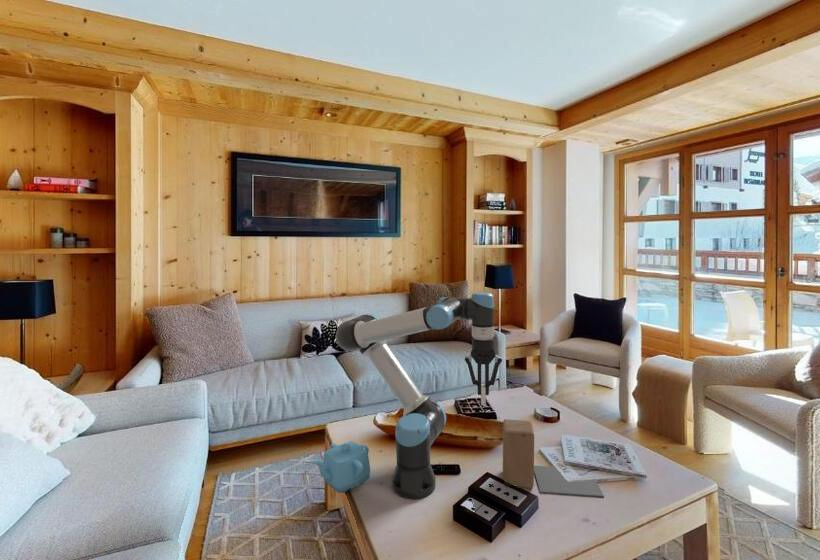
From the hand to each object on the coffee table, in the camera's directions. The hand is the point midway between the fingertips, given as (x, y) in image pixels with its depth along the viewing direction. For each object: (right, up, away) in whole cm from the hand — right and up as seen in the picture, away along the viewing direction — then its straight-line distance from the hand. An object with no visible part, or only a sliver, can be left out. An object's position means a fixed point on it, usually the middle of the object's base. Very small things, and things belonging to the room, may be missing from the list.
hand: (483, 403), depth 135 cm
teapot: (-49, -29, +1) cm, 57 cm away
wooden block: (+12, -27, +1) cm, 30 cm away
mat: (+29, -27, 0) cm, 39 cm away
